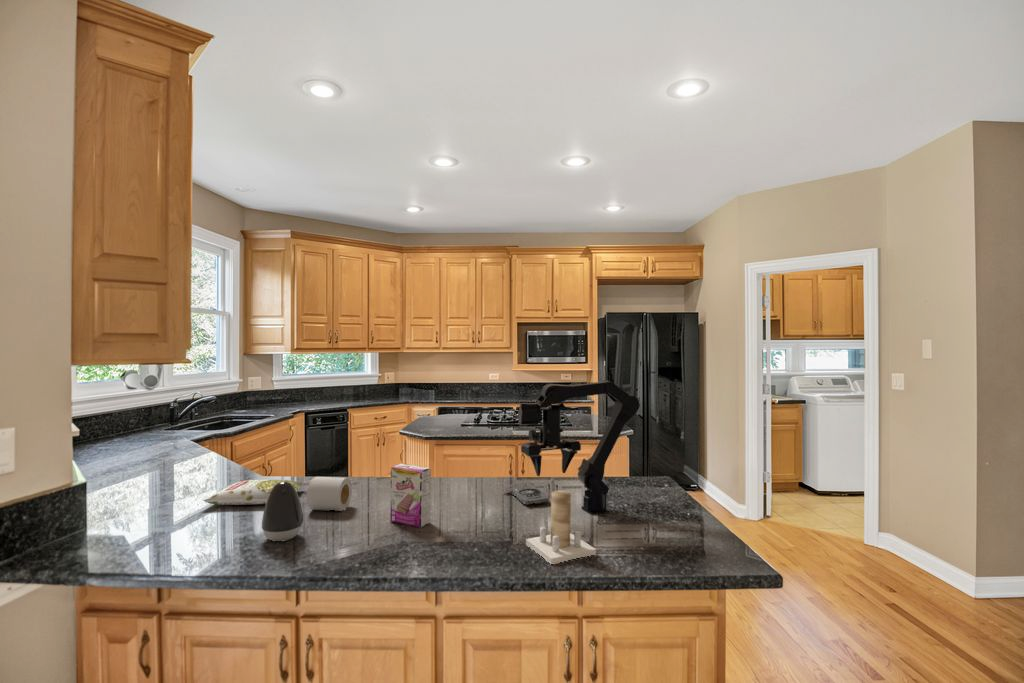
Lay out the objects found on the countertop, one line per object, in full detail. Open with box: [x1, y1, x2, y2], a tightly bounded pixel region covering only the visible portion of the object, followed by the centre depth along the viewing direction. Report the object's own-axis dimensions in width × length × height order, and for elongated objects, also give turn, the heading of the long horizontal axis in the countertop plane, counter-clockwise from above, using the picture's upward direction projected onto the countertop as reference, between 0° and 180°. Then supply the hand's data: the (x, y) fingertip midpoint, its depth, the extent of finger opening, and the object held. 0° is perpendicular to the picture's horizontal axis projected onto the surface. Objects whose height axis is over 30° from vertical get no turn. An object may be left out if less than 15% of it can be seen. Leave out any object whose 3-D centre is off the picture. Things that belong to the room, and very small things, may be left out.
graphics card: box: [502, 482, 550, 505], centre depth 170 cm, size 17×4×12 cm
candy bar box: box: [389, 463, 431, 528], centre depth 147 cm, size 11×5×16 cm, turn 65°
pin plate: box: [525, 526, 597, 565], centre depth 129 cm, size 13×13×5 cm
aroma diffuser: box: [261, 481, 304, 542], centre depth 135 cm, size 10×10×15 cm
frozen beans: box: [201, 479, 305, 506], centre depth 167 cm, size 21×6×25 cm
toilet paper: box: [306, 476, 353, 512], centre depth 158 cm, size 10×10×10 cm
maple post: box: [550, 490, 572, 548], centre depth 129 cm, size 5×5×13 cm
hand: (551, 474), depth 156 cm, fingers open, 9 cm apart
